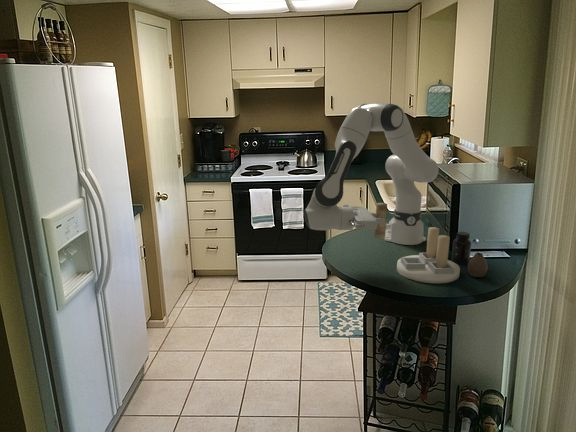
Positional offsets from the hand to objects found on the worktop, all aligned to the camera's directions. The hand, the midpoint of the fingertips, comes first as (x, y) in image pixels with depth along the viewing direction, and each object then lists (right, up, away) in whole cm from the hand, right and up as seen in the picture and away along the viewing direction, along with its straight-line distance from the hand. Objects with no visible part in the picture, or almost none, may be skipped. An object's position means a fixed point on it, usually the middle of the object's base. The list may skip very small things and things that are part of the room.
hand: (383, 218), depth 184 cm
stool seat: (+17, -20, +1) cm, 27 cm away
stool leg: (-1, -7, +2) cm, 8 cm away
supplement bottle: (+33, -18, +12) cm, 40 cm away
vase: (+34, -22, -3) cm, 41 cm away
